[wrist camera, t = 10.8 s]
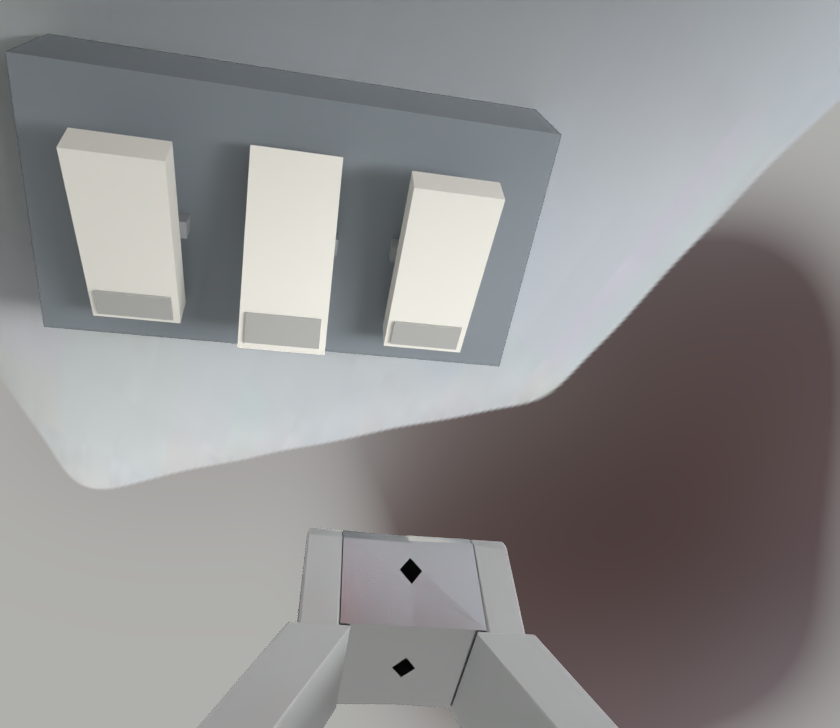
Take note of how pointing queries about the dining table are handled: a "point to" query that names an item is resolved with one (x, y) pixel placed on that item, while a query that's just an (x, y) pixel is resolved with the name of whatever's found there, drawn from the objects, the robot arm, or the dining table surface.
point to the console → (228, 180)
